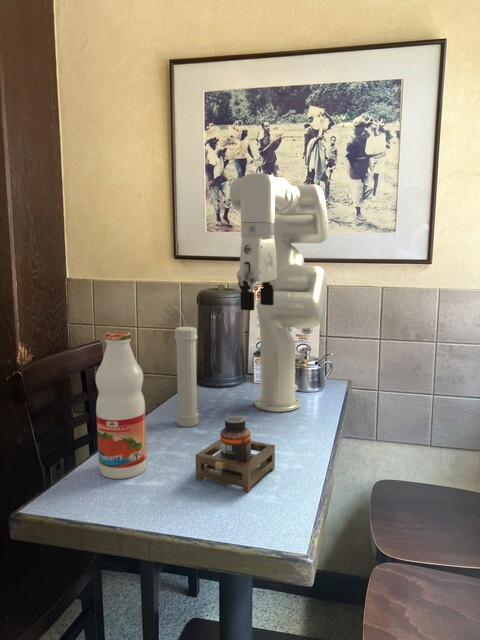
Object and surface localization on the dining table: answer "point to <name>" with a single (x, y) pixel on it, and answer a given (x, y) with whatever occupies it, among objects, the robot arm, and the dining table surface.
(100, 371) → the fruit juice
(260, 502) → the dining table surface
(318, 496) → the dining table surface
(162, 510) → the dining table surface
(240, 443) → the supplement bottle
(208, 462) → the collar stand
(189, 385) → the pipe
